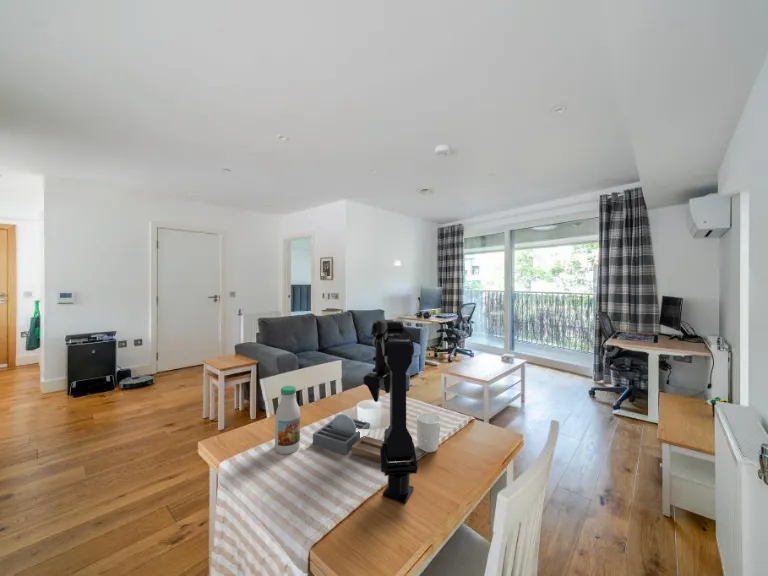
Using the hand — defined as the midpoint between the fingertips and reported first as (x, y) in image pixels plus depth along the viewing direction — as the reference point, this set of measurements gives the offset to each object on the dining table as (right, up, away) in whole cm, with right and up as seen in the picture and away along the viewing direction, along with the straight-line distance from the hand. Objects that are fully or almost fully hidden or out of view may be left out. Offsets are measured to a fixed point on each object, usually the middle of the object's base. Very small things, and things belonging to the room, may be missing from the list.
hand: (381, 397), depth 114 cm
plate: (-14, -13, -5) cm, 20 cm away
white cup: (+15, -14, -8) cm, 22 cm away
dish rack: (-14, -13, -4) cm, 19 cm away
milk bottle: (-31, -13, -11) cm, 35 cm away
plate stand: (-2, -14, -13) cm, 19 cm away
